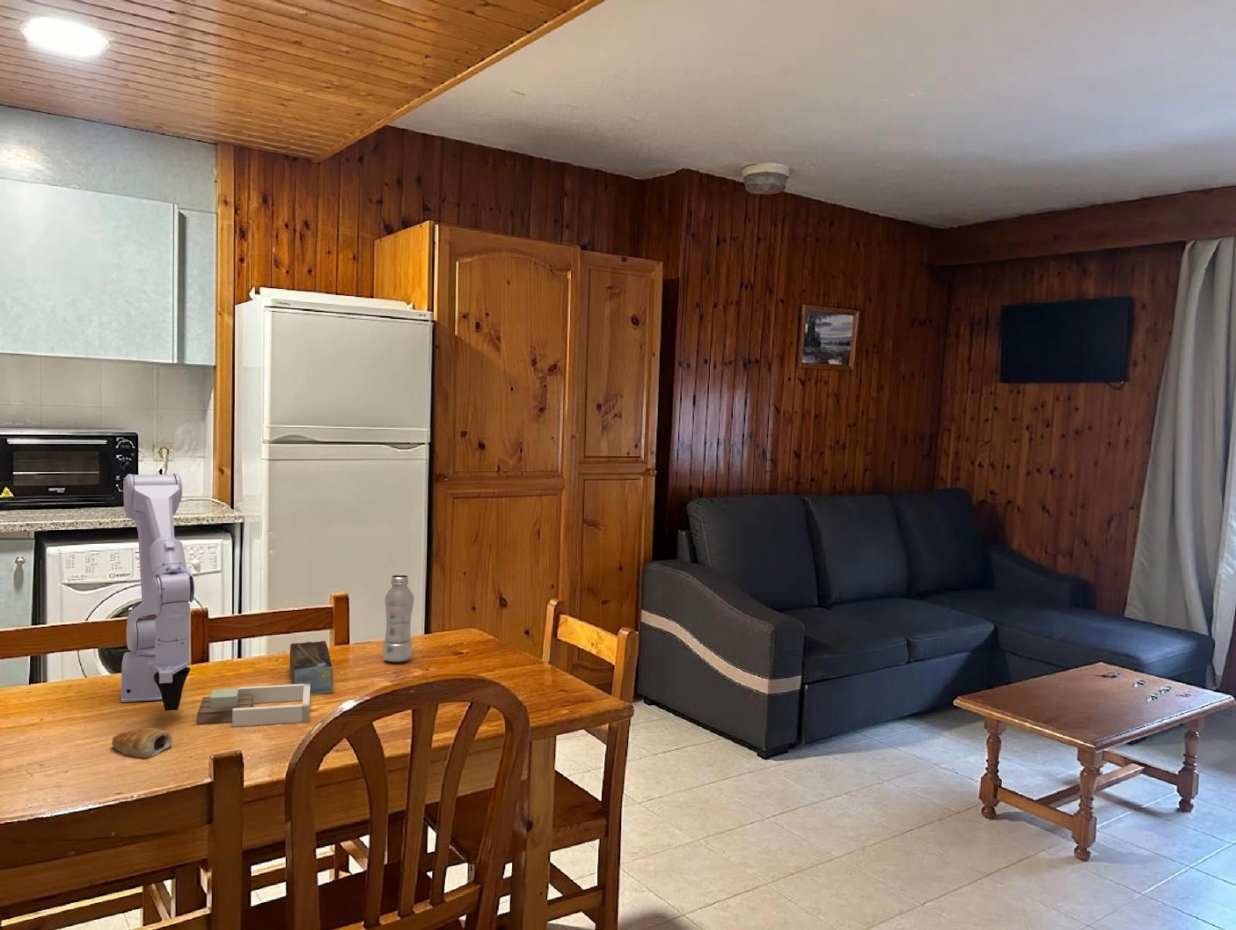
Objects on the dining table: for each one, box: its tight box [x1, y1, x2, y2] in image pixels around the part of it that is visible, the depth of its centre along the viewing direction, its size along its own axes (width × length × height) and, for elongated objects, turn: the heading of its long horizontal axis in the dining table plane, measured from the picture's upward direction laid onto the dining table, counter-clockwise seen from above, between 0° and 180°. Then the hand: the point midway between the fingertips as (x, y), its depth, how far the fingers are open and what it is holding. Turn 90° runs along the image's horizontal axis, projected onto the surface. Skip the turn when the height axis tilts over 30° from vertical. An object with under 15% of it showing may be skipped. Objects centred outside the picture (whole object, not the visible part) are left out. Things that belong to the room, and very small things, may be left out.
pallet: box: [196, 694, 254, 726], centre depth 168 cm, size 9×9×3 cm
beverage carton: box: [289, 640, 334, 696], centre depth 189 cm, size 8×19×7 cm, turn 22°
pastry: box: [111, 727, 173, 759], centre depth 151 cm, size 9×7×4 cm
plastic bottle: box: [382, 574, 415, 663], centre depth 205 cm, size 6×7×20 cm
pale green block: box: [209, 688, 239, 708], centre depth 167 cm, size 4×4×2 cm
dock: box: [231, 683, 311, 727], centre depth 170 cm, size 13×13×3 cm
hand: (171, 709), depth 165 cm, fingers closed
